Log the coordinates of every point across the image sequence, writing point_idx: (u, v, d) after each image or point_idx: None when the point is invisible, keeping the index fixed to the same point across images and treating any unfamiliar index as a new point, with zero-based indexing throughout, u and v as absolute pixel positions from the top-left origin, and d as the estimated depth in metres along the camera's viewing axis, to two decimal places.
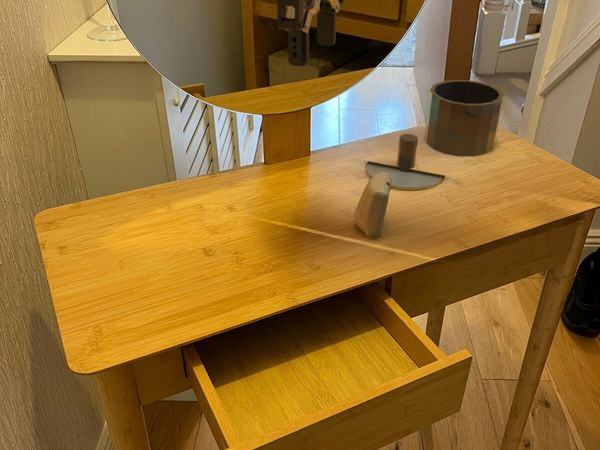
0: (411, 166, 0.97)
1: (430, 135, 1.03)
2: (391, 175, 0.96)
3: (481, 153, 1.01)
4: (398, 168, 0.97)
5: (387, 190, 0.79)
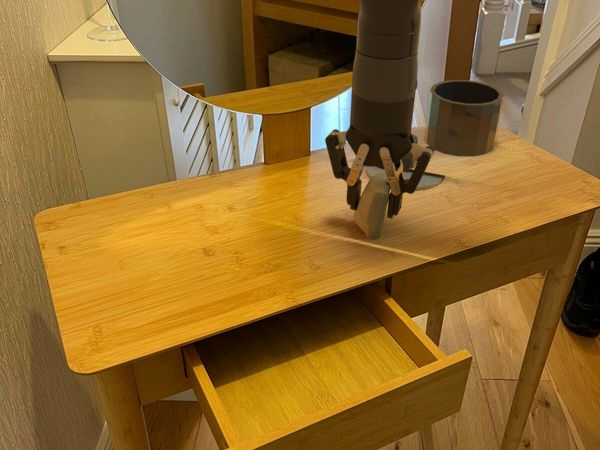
0: (411, 166, 0.97)
1: (430, 135, 1.03)
2: None
3: (481, 153, 1.01)
4: None
5: (387, 190, 0.79)
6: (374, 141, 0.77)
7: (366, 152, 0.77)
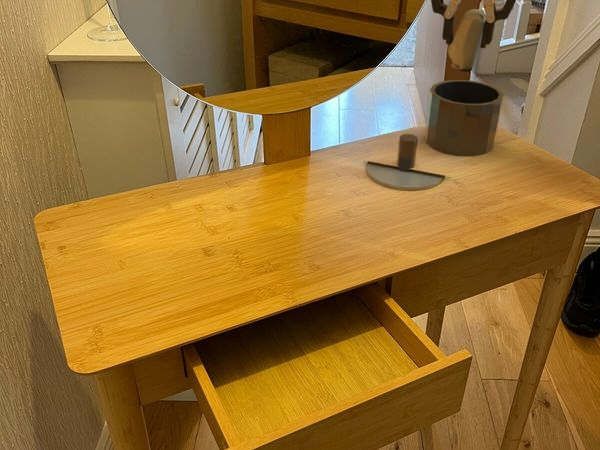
0: (411, 166, 0.97)
1: (430, 135, 1.03)
2: (391, 175, 0.96)
3: (481, 153, 1.01)
4: (398, 168, 0.97)
5: (482, 19, 0.90)
6: None
7: None
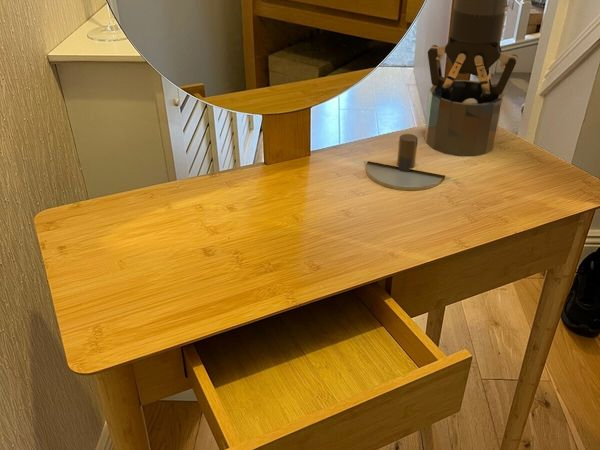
0: (411, 166, 0.97)
1: (430, 135, 1.03)
2: (391, 175, 0.96)
3: (481, 153, 1.01)
4: (398, 168, 0.97)
5: None
6: (469, 52, 0.96)
7: (463, 60, 0.96)
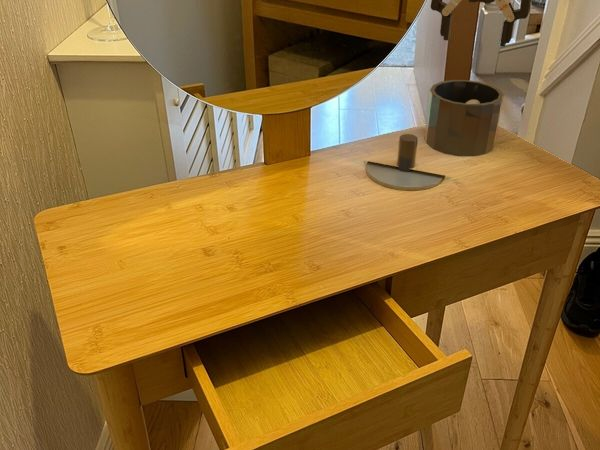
0: (411, 166, 0.97)
1: (430, 135, 1.03)
2: (391, 175, 0.96)
3: (481, 153, 1.01)
4: (398, 168, 0.97)
5: None
6: None
7: None
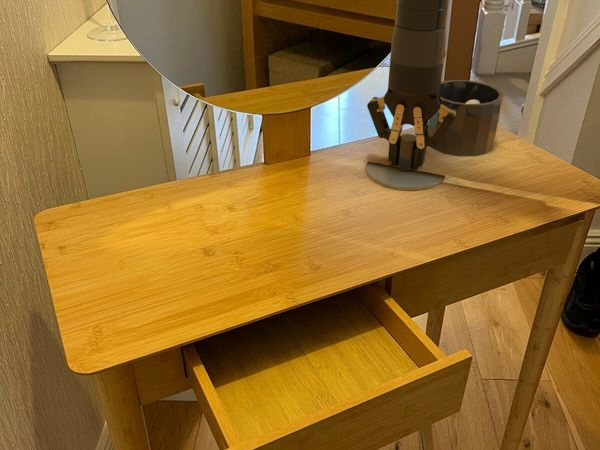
0: (411, 166, 0.97)
1: None
2: (391, 175, 0.96)
3: (481, 153, 1.01)
4: (398, 168, 0.97)
5: None
6: (408, 102, 0.91)
7: (402, 111, 0.92)
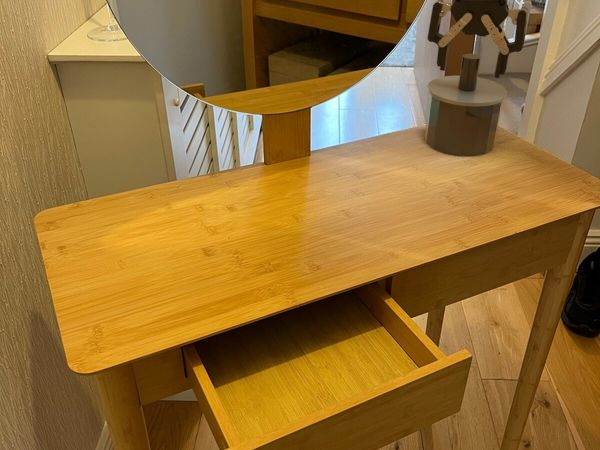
0: (473, 85, 0.99)
1: (430, 135, 1.03)
2: (454, 94, 0.98)
3: (481, 153, 1.01)
4: (460, 88, 0.99)
5: None
6: (476, 11, 0.93)
7: (469, 20, 0.93)
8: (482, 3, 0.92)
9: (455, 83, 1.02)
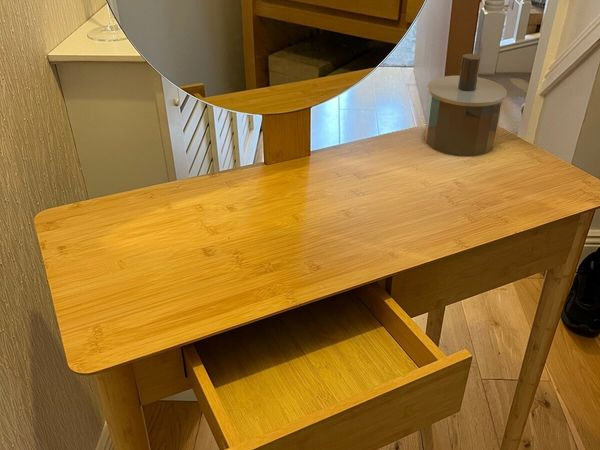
0: (473, 85, 0.99)
1: (430, 135, 1.03)
2: (454, 94, 0.98)
3: (481, 153, 1.01)
4: (460, 88, 0.99)
5: None
6: None
7: None
8: None
9: (455, 83, 1.02)
